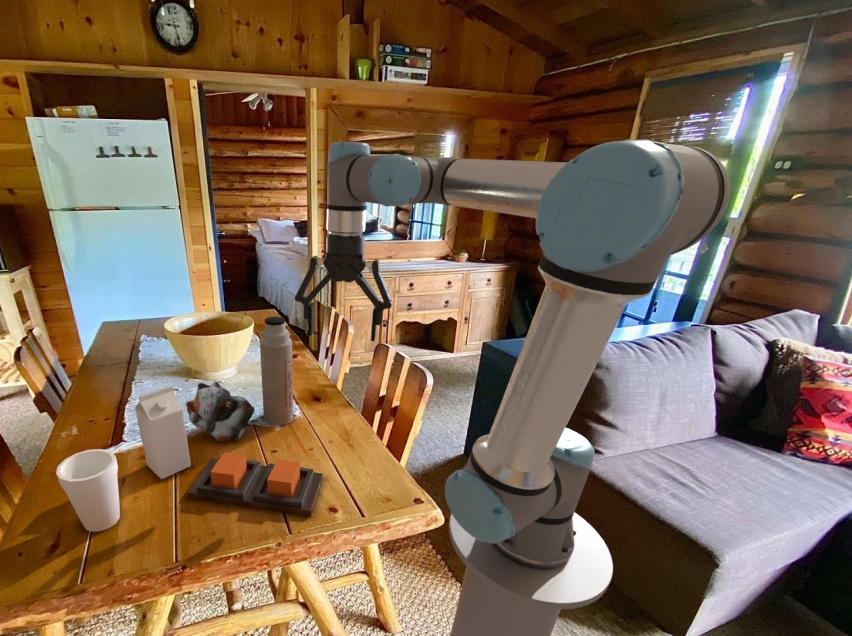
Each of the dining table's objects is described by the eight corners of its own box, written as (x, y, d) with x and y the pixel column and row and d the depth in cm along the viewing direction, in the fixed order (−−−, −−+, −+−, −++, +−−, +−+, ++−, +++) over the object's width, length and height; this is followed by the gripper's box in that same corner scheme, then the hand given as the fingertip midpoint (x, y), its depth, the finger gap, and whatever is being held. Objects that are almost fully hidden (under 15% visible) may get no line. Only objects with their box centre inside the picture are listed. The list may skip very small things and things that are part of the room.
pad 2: (300, 477, 95) (299, 462, 93) (291, 498, 89) (291, 483, 87) (277, 474, 95) (277, 459, 94) (267, 495, 89) (266, 479, 87)
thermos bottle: (299, 415, 121) (298, 317, 108) (281, 428, 115) (278, 326, 102) (276, 407, 124) (272, 311, 112) (257, 419, 118) (251, 319, 106)
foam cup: (139, 508, 87) (126, 454, 81) (105, 542, 79) (88, 485, 73) (99, 498, 89) (84, 445, 83) (62, 530, 81) (43, 474, 75)
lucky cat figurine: (234, 448, 106) (200, 407, 99) (202, 451, 113) (167, 412, 106) (263, 406, 116) (233, 365, 109) (231, 411, 123) (202, 373, 116)
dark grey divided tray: (323, 478, 97) (323, 468, 96) (311, 516, 86) (311, 506, 85) (211, 463, 101) (210, 453, 99) (187, 498, 90) (185, 487, 89)
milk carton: (146, 465, 99) (131, 391, 91) (175, 453, 104) (163, 380, 95) (161, 480, 95) (146, 403, 86) (191, 466, 99) (180, 392, 91)
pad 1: (246, 470, 96) (245, 455, 95) (235, 490, 90) (233, 475, 88) (225, 467, 97) (223, 452, 95) (212, 487, 91) (210, 471, 89)
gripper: (411, 233, 87) (400, 335, 97) (288, 227, 91) (290, 325, 100) (410, 239, 80) (398, 347, 90) (278, 232, 84) (281, 337, 94)
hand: (341, 336), depth 95 cm, fingers open, 13 cm apart
